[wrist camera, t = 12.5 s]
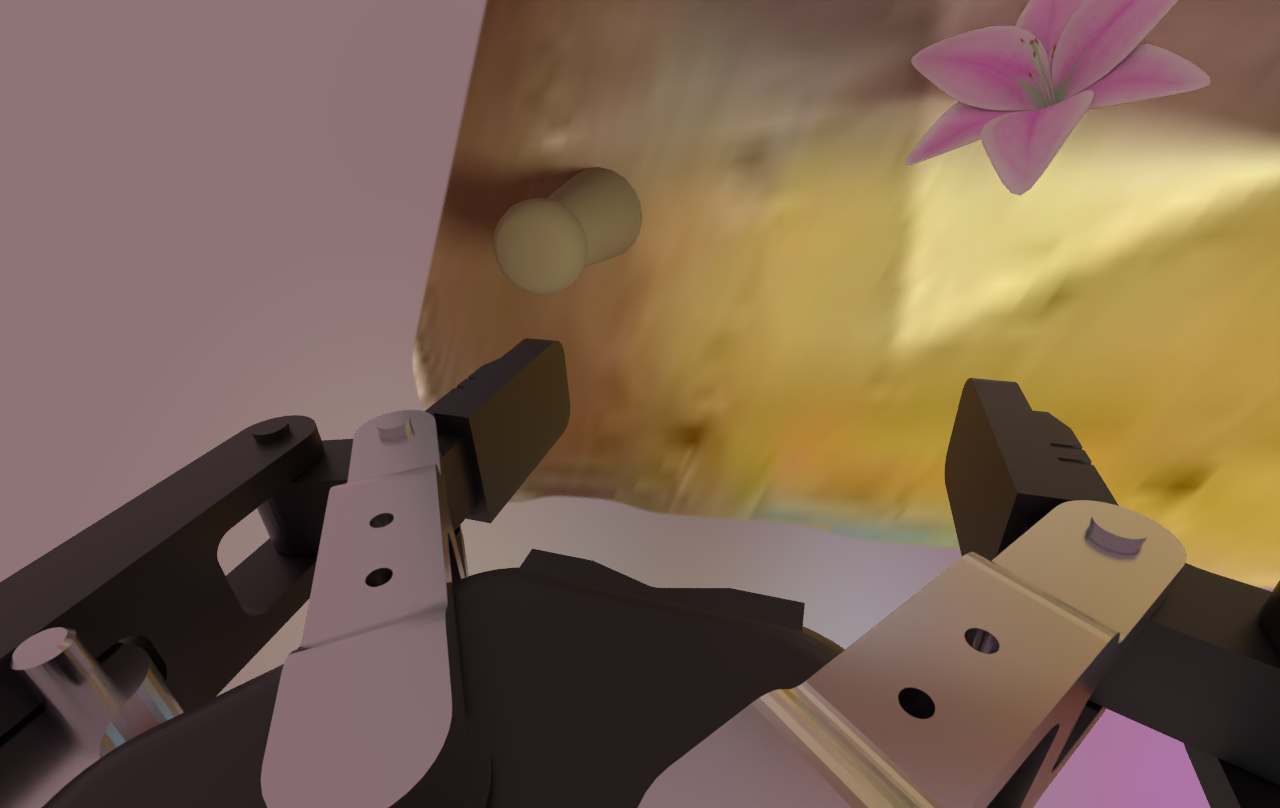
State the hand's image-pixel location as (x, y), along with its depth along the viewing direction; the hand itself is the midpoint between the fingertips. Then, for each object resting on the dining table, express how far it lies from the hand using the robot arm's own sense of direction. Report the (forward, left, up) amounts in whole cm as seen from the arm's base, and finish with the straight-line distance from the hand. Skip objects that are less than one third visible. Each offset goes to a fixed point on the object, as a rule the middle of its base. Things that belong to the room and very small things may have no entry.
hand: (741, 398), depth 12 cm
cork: (+14, +2, -28) cm, 32 cm away
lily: (-10, -6, -28) cm, 31 cm away
